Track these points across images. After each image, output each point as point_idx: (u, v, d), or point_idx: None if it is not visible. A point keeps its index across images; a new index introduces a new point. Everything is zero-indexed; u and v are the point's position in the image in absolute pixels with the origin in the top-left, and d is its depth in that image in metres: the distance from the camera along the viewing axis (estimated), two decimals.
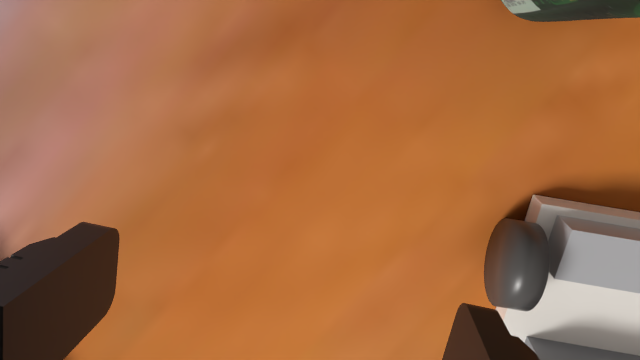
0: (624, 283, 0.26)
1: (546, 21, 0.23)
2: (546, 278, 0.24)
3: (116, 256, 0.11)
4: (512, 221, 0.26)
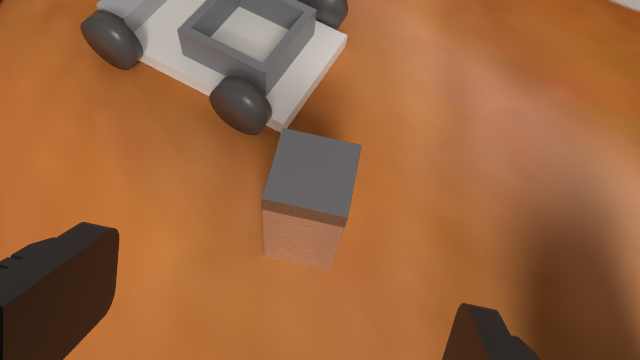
0: None
1: None
2: (103, 11, 0.39)
3: (116, 256, 0.11)
4: (84, 35, 0.41)
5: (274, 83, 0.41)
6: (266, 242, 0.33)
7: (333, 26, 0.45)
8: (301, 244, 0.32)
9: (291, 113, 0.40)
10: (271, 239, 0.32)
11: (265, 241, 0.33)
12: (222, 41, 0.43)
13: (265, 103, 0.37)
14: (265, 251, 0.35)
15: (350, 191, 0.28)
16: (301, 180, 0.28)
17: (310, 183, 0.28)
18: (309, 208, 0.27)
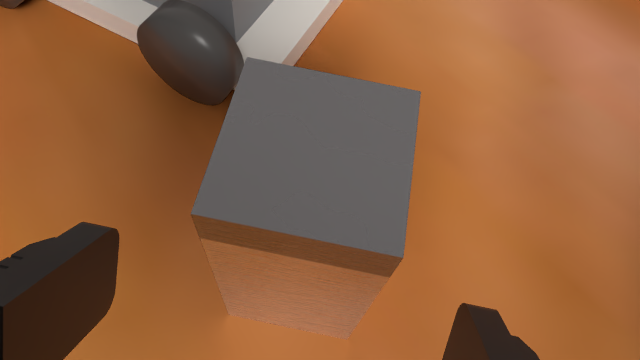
0: None
1: None
2: None
3: (116, 256, 0.11)
4: None
5: (249, 23, 0.25)
6: (226, 296, 0.17)
7: None
8: (294, 302, 0.16)
9: None
10: (235, 291, 0.16)
11: (224, 294, 0.17)
12: None
13: (229, 45, 0.22)
14: (229, 309, 0.19)
15: (404, 192, 0.12)
16: (288, 168, 0.12)
17: (310, 174, 0.12)
18: (307, 236, 0.11)
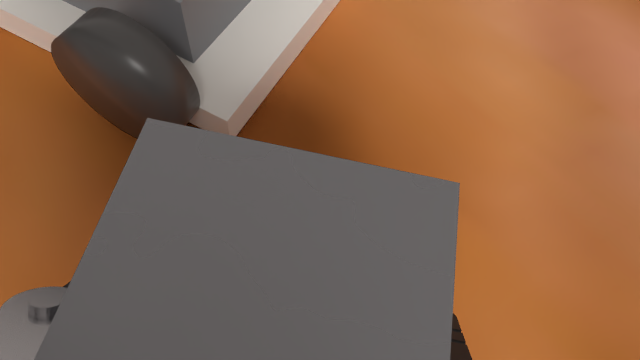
0: None
1: None
2: None
3: None
4: None
5: (212, 36, 0.19)
6: None
7: None
8: None
9: (247, 98, 0.19)
10: None
11: None
12: None
13: (175, 70, 0.16)
14: None
15: None
16: None
17: None
18: None
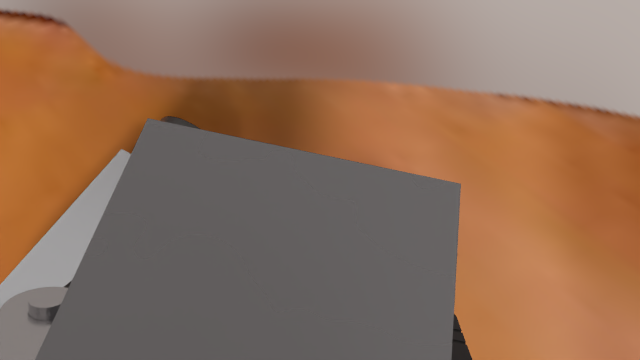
0: None
1: None
2: None
3: None
4: None
5: None
6: None
7: None
8: None
9: None
10: None
11: None
12: None
13: None
14: None
15: None
16: None
17: None
18: None
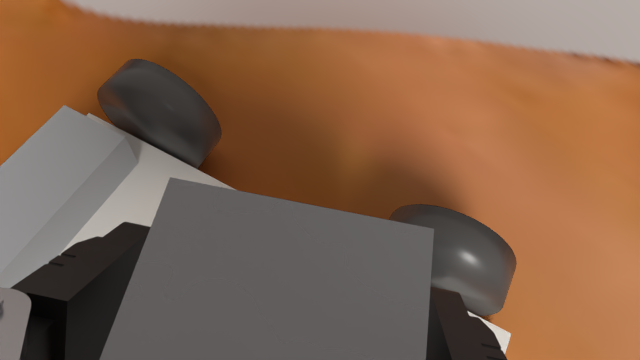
0: None
1: None
2: None
3: None
4: None
5: None
6: None
7: (474, 310, 0.18)
8: None
9: None
10: None
11: None
12: None
13: None
14: None
15: None
16: None
17: None
18: None
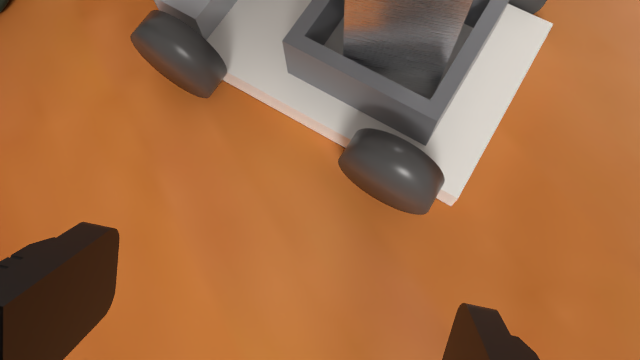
0: None
1: None
2: (163, 13, 0.24)
3: (116, 256, 0.11)
4: (136, 48, 0.26)
5: (439, 122, 0.25)
6: (347, 49, 0.23)
7: (528, 9, 0.27)
8: (399, 46, 0.22)
9: (469, 176, 0.24)
10: (355, 40, 0.22)
11: (345, 47, 0.23)
12: None
13: (437, 177, 0.22)
14: None
15: None
16: None
17: None
18: None
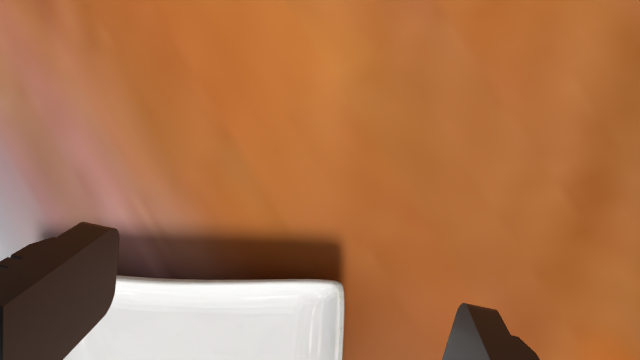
0: None
1: None
2: None
3: (116, 256, 0.11)
4: None
5: None
6: None
7: None
8: None
9: None
10: None
11: None
12: None
13: None
14: None
15: None
16: None
17: None
18: None
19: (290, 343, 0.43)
